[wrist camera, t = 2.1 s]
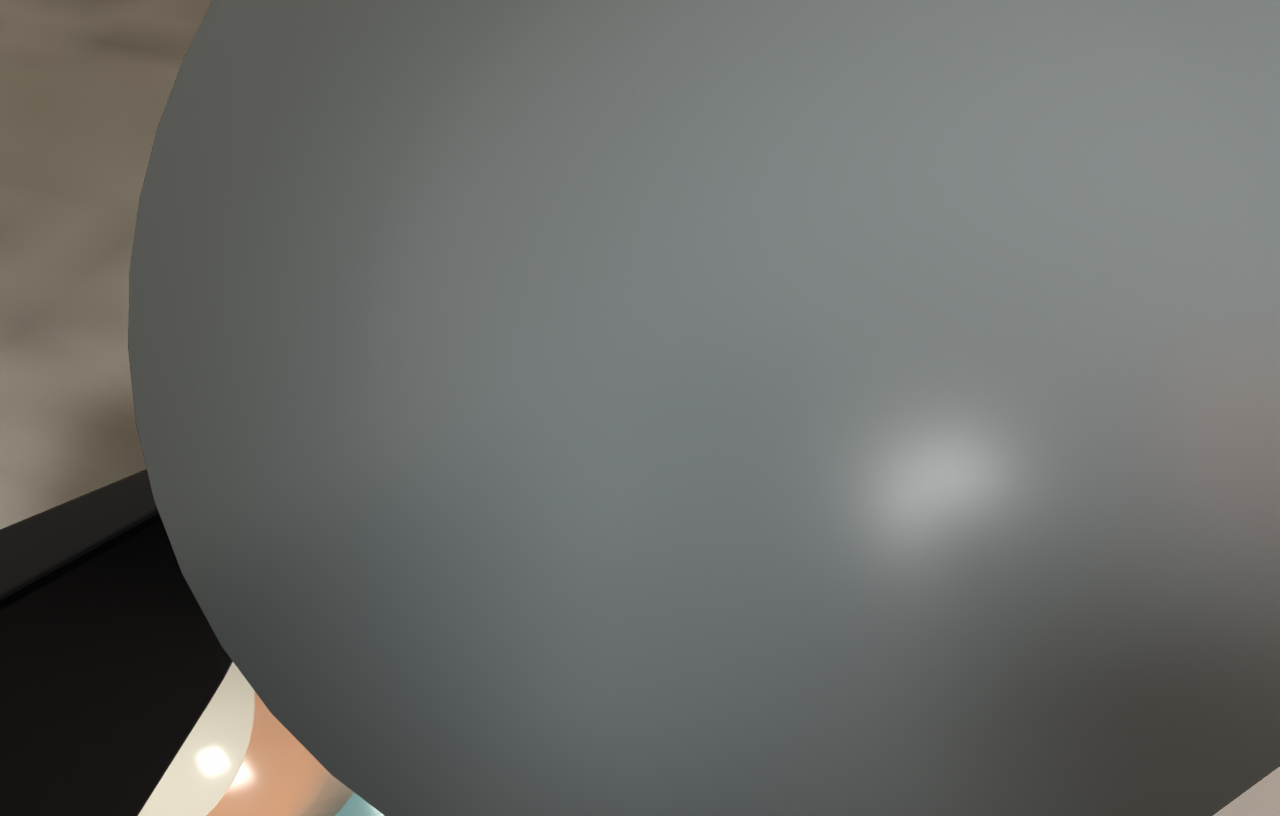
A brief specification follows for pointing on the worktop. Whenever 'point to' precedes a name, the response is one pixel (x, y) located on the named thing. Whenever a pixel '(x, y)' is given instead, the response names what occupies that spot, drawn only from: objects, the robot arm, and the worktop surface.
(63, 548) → the robot arm
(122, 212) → the worktop surface
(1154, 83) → the grey canister
